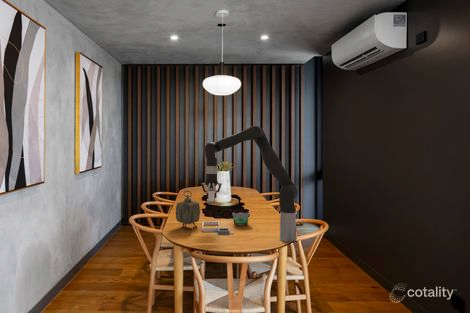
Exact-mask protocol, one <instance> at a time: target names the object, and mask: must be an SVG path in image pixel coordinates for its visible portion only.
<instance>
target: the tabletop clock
mask: <svg viewBox="0 0 470 313" xmlns="http://www.w3.org/2000/svg"><path fill="white" fill-rule="evenodd" d="M185 193H190V195H189V194H188V195H186V194H185ZM183 196H184V197H185V198H184V199H183V201H182V200H181V201H180V202H179V201H178V202H177V204H176V206H175V219H176V221H177V222H178V223H181V224H182V226H183V228H184V229H187V225H191V224H193V225H194V227H195V228H197V227H198V226H197V225H196V224H195V223H197V222H199V221H200V216H201V206H200V203H199V202H197V201H194V200H192V198H191V197H192V196H193V193H192V192H191V191H189V190H185V191H184V192H183Z"/></svg>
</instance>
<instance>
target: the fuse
mask: <svg viewBox="0 0 470 313" xmlns="http://www.w3.org/2000/svg"><path fill="white" fill-rule="evenodd" d="M214 195H215V189H214V188H209V189H208V202H207V203H208V204H207V205H214V204H215V199H214Z"/></svg>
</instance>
